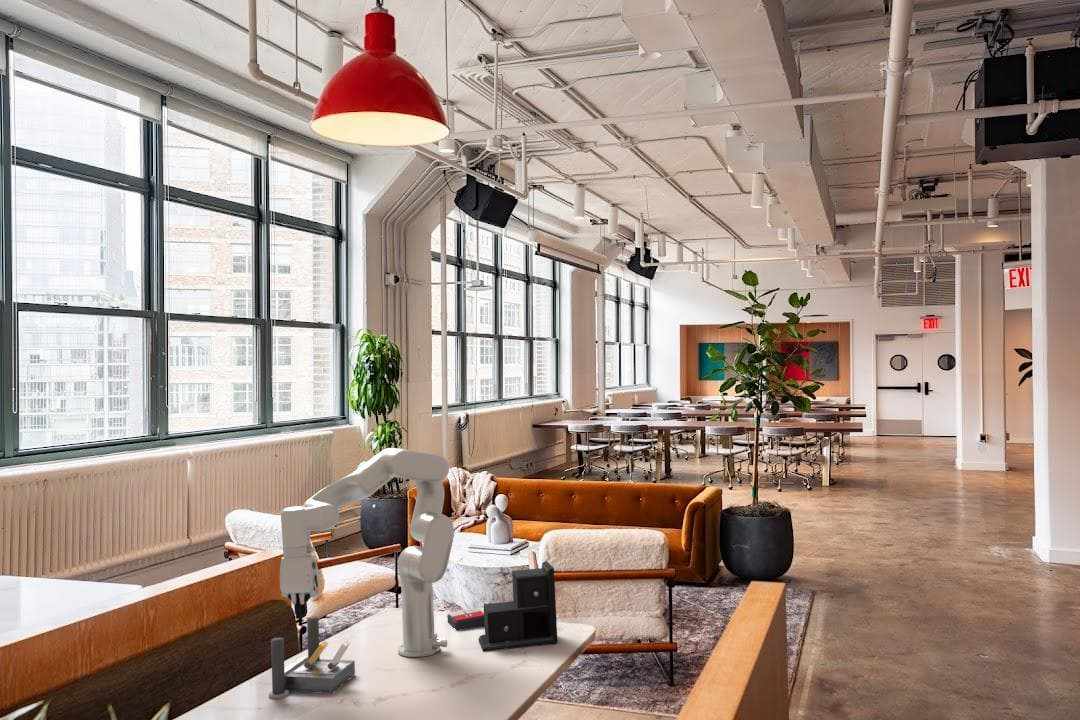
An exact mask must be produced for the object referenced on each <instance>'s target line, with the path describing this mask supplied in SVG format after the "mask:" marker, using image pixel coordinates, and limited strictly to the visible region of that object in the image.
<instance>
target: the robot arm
mask: <svg viewBox="0 0 1080 720" xmlns="http://www.w3.org/2000/svg"><path fill="white" fill-rule="evenodd" d="M449 473H450V464H449V461H448V460H447V459H446V458H445V457H444V456H442V455H441V454H435V453H429V452H422V451H415V450H411V449H406V448H396V447H388V448H385V449H382V450H381V451H380V452H378V453H377V454H376V455H374V456H373V457H372V458H371V459H368V461H367V462H365V463H364V464H363V465H361V466H359V467H358V468H357V469H355V470H354V471H353V472H351V473H350V474H348V475H346V476H344V477H342V478H340V479H338V480H337V481H334V482H333V483H330V484H329V485H327V486H325V487H324V488H322V489H320V490H319V491H318V492H316V493H315V494H314V495H312V496H311V497H310V498H309V499H307V500H306V501H305V502H303V504H302V505H297V506H295V505H294V506H290V507H285V508H283V509H282V510H281V512H280V523H281V524H280V525H281V538H282V539H281V540H282V541H281V542H282V552H283V553H282V554H283V555H282V556H283V557H281V559H280V566H279V589H280V591H281V594H280V595H281V597H284V598H287V599H289V600H290V602H291V603H292V605H293V606H294V607H293V609H294V615H295V619H296V620H297V619H298V620H299V619H300V620H302V619H304V618H305V617H307V614H308V602H309V600H310V599H311V598H315V597H317V596H318V595H319V590H318V589H319V588H320V587H321V584H320V575H319V567H318V563H317V559H316V556H315V554H312V553H315V552H316V547H315V546H312V543H311V542H312V540H311V531H313V532H314V531H315V532H316V531H327V530H331V529H333V528H334V527H335V526H336V525H337V524H338V522H339V521H340V511H339V510H338V508H340V507H342V506H344V505H347V504H349V503H353V502H358V501H362V500H364V499H367V498H369V497H371V496H372V495H373V494H375V493H376V492H377V491H378V490H379V489H381V488H382V487H383V486H384V485H386V484H387V483H389V482H390V481H391V480H392V479H394V478H400V479H405V480H411V481H412V480H413V482H414V484H415V487H416V500H415V505H414V509H413V512H412V517H411V522H410V525H409V526H410V527H409V533H410V536H411V538H413V539H414V540H415V541H417V542H420V543H423V544H422V546H419V545H412V546H411V545H410V546H408V547H406V548H404V549H403V550H402V551H401V552H400V554H399V556H398V560H397V570H398V575H399V579H400V587H401V614H402V617H401V618H402V619H401V620H402V644H401V645H400V646H399V647H397V648H398V649H397V653H398V654H399V655H401V656H402V657H407V658H408V657H409V658H420V657H421V658H423V657H427V656H431V655H434V654H436V653H438V652H439V651H440V650H441V648H447V647H448V644H449V643H448V640H447V639H446V638H439V637H438V633H435V616H434V615H435V613H434V609H435V608H434V588H433V584H434V583H437V582H439V581H440V580H441V579H442V578H443V577H444V575H445V574H446V571H447V568H448V565H449V561H450V556H451V551H452V547H453V542H454V538H455V537H454V536H455V528H454V524H453V522H452V520H451V519H450V517H448V516H447V515H445V514H443V509H444V508H443V507H444V502H445V487H444V484H443V481H444V480H445V479H446V478H447V477H448V474H449Z"/></svg>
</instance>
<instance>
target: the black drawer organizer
mask: <svg viewBox="0 0 1080 720" xmlns="http://www.w3.org/2000/svg"><path fill="white" fill-rule="evenodd" d="M511 578H512V579H511V580H512V598H513V599H512V601H502V602H501V601H500V602H490V603H484V604H483V607H484V624H485V626H484V634H482V635H479V636H478V643H479V645H480V647H481V650H482V652H491V651H493V652H494V651H499V650H508V649H509V650H510V649H517V648H518V649H519V648H527V647H535V646H543V645H544V646H545V645H554V644H558V643H559V639H558V626H557V625H558V624H557V623H558V622H557V608H556V607H557V602H556V585H555V583H556V581H555V580H556V579H555V568H554V567H553V565H551V564H550V562H549V561H548V560H545V561H543V562H542V563H541V568H540V567H539V568H529V569H518V570H512V571H511Z"/></svg>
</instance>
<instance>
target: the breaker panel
mask: <svg viewBox="0 0 1080 720" xmlns="http://www.w3.org/2000/svg"><path fill="white" fill-rule="evenodd" d="M308 660H309V659H308V656H301V657H300V658H298V659H297V660H296V661H294V662H292V663H291V664H290V665H288V666H286V667H284V671H285V689H287V690H288V691H289V692H293V693H295V691H296V693H313V692H318V693H317V694H319V692H321V693H320V694H334V693H335V692H336V691H338V690H339V689H340V688H341V687H342V686H343V685H345V684H346V683H347V682H348V681H349V680H350V679H349V678H351V677H352V676H353V675H354V674H355V675H356V667H355V666H356V663H355V660H348V659H347V660H346V659H345V660H344V659H340V660H339V664H338V665H336V666H335V667H334V668H332V669H329V668H328V664H329V663H331V661H332V659H326V658H325V659H323V658H320V659H317V660H316V662H315V663H314V664H313V665H312V666H310V667H309V668H305V666H304V664H305V663H306V662H307V661H308ZM355 675H354V676H355ZM354 676H353V677H354ZM353 677H352V678H353ZM352 678H351V679H352ZM348 679H349V680H348ZM347 680H348V681H347ZM346 681H347V682H346ZM345 682H346V683H345ZM344 683H345V684H344ZM342 684H343V685H342ZM341 685H342V686H341ZM340 686H341V687H340ZM339 687H340V688H339ZM338 688H339V689H338ZM334 691H335V692H334ZM333 692H334V693H333Z"/></svg>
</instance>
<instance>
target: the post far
mask: <svg viewBox="0 0 1080 720" xmlns="http://www.w3.org/2000/svg"><path fill="white" fill-rule="evenodd" d="M319 621H320V620H319V616H313V615H312V616H309V617H307V618H306V623H307V624H306V626H307V657H308V659H310V657H311V656H312V655H313V653H314V652H315V651H316V649H317V648H318V646H319V645H320V622H319ZM320 656H321V655H320ZM320 656H319V657H318V658H317V659H321V658H320Z"/></svg>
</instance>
